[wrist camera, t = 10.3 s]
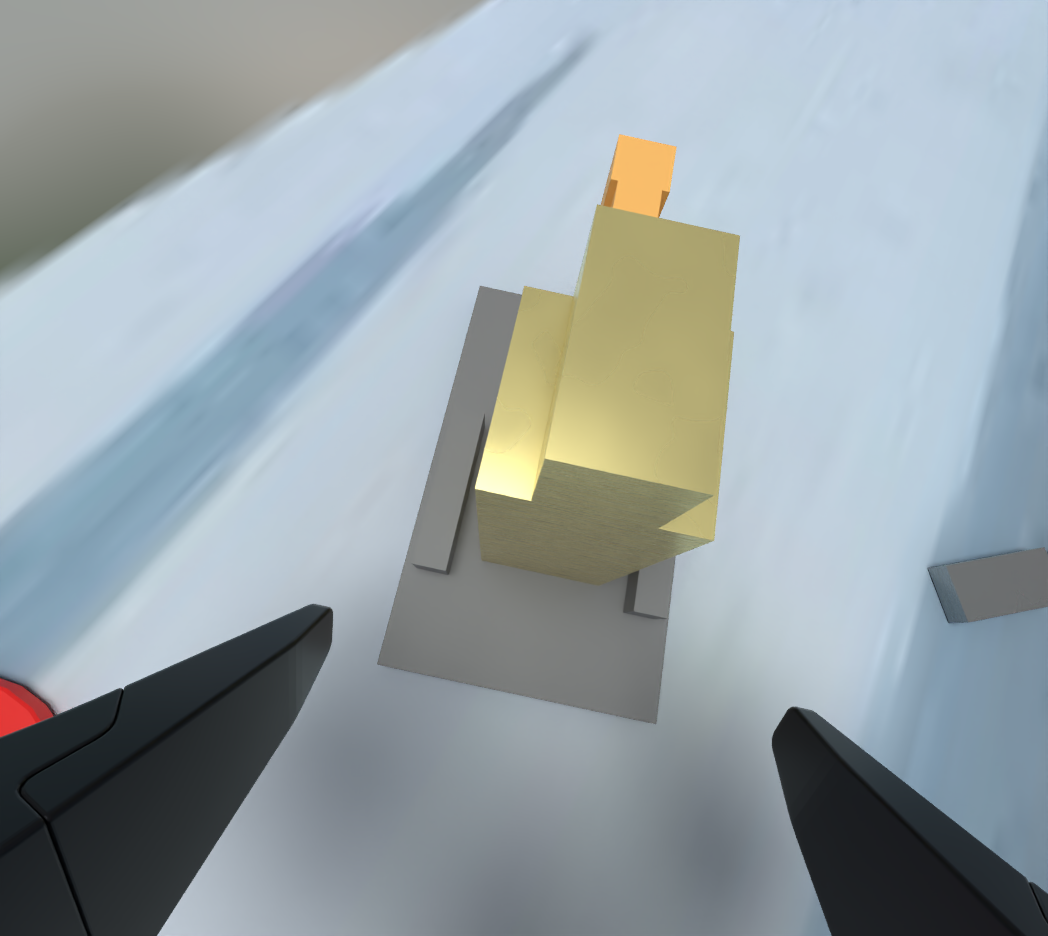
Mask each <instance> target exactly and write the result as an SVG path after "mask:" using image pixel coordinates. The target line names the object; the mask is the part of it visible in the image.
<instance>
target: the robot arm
mask: <svg viewBox="0 0 1048 936" xmlns="http://www.w3.org/2000/svg"><path fill="white" fill-rule="evenodd" d="M332 628H333V611H332V609H331V608H330V607H326V606H322V605H317V604H311V605H308V606H305V607H303V608H301V609H299V610H296V611H294V612H292V613H290V614H287V615H285V616H283V617H280V618H278V619H276V620H274V621H271V622H269V623H267V624H265V625H262V626H260V627H258V628H256V629H253V630H251V631H249V632H247V633H244V634H242V635H240V636H238V637H235V638H233V639H231V640H229V641H226V642H224V643H222V644H220V645H217V646H215V647H213V648H211V649H208V650H206V651H204V652H201V653H199V654H197V655H195V656H192V657H190V658H188V659H186V660H183V661H181V662H179V663H177V664H174V665H172V666H170V667H168V668H165V669H163V670H161V671H159V672H156V673H154V674H152V675H150V676H147V677H145V678H143V679H141V680H138V681H136V682H134V683H132V684H129V685H127V686H125V687H124V690H123V689H121V688H119V689H116V690H114V691H112V692H109V693H107V694H105V695H103V696H100V697H98V698H96V699H94V700H91V701H89V702H86V703H84V704H82V705H79V706H77V707H75V708H72V709H70V710H67V711H65V712H63V713H60V714H58V715H56V716H53V717H51V718H48V719H46V720H43V721H40V722H38V723H35V724H33V725H30V726H28V727H25V728H22V729H20V730H17V731H15V732H12V733H10V734H7V735H4V736H2V737H0V936H157V935H158V933H159V932H160V930H161V929H162V927H163V925H164V924H165V922H166V921H167V919H168V918H169V916H170V915H171V913H172V911H173V910H174V908H175V907H176V905H177V904H178V902H179V901H180V899H181V897H182V896H183V894H184V893H185V891H186V890H187V888H188V886H189V885H190V883H191V882H192V880H193V879H194V877H195V876H196V874H197V872H198V871H199V869H200V868H201V866H202V865H203V863H204V862H205V860H206V858H207V857H208V855H209V854H210V852H211V851H212V849H213V848H214V846H215V844H216V843H217V841H218V840H219V838H220V837H221V835H222V833H223V832H224V830H225V829H226V827H227V826H228V824H229V823H230V821H231V819H232V818H233V816H234V815H235V813H236V812H237V810H238V809H239V807H240V805H241V804H242V802H243V801H244V799H245V798H246V796H247V795H248V793H249V791H250V790H251V788H252V787H253V785H254V784H255V782H256V780H257V779H258V777H259V776H260V774H261V773H262V771H263V770H264V768H265V766H266V765H267V763H268V762H269V760H270V759H271V757H272V756H273V754H274V752H275V751H276V749H277V748H278V746H279V745H280V743H281V741H282V740H283V738H284V737H285V735H286V734H287V732H288V731H289V729H290V727H291V726H292V724H293V722H294V721H295V719H296V717H297V715H298V713H299V711H300V710H301V708H302V706H303V704H304V702H305V699H306V697H307V695H308V693H309V691H310V689H311V687H312V685H313V683H314V681H315V679H316V677H317V675H318V673H319V671H320V669H321V667H322V665H323V663H324V661H325V659H326V656H327V654H328V652H329V649H330V646H331V642H332ZM772 749H773V753H774V757H775V761H776V765H777V769H778V773H779V777H780V781H781V785H782V789H783V793H784V797H785V801H786V805H787V809H788V812H789V816H790V819H791V823H792V826H793V829H794V832H795V835H796V838H797V841H798V844H799V846H800V849H801V852H802V855H803V857H804V860H805V863H806V866H807V869H808V871H809V874H810V877H811V880H812V882H813V885H814V888H815V891H816V894H817V896H818V899H819V902H820V905H821V908H822V910H823V913H824V916H825V919H826V921H827V924H828V927H829V930H830V933H831V935H832V936H1048V894H1047V893H1046V892H1045V891H1044V890H1042V889H1041V888H1040V887H1038V886H1037V885H1036V884H1034V883H1033V882H1028V880H1027V879H1026V877H1024V876H1023V875H1022V874H1021V873H1019V872H1018V871H1017V870H1016V869H1014V868H1013V867H1012V866H1010V865H1009V864H1008V863H1007V862H1005V861H1004V860H1003V859H1001V858H1000V857H999V856H998V855H996V854H995V853H994V852H993V851H991V850H990V849H989V848H987V847H986V846H985V845H984V844H982V843H981V842H980V841H979V840H977V839H976V838H975V837H973V836H972V835H971V834H970V833H968V832H967V831H966V830H965V829H963V828H962V827H961V826H959V825H958V824H957V823H956V822H954V821H953V820H952V819H951V818H949V817H948V816H947V815H945V814H944V813H943V812H942V811H940V810H939V809H938V808H937V807H935V806H934V805H933V804H931V803H930V802H929V801H928V800H926V799H925V798H924V797H923V796H921V795H920V794H919V793H917V792H916V791H915V790H914V789H912V788H911V787H910V786H909V785H907V784H906V783H905V782H903V781H902V780H901V779H900V778H898V777H897V776H896V775H894V774H893V773H892V772H891V771H889V770H888V769H887V768H886V767H884V766H883V765H882V764H880V763H879V762H878V761H877V760H875V759H874V758H873V757H872V756H870V755H869V754H868V753H866V752H865V751H864V750H863V749H861V748H860V747H859V746H858V745H856V744H855V743H854V742H852V741H851V740H850V739H849V738H847V737H846V736H845V735H844V734H842V733H841V732H840V731H838V730H837V729H836V728H835V727H833V726H832V725H831V724H830V723H828V722H827V721H826V720H824V719H823V718H822V717H821V716H819V715H818V714H817V713H815V712H814V711H812V710H809V709H804V708H799V707H791V708H789V709H788V710H787V712H786V713H785V715H784V717H783V718H782V720H781V721H780V723H779V725H778V726H777V728H776V730H775V731H774V733H773V737H772Z"/></svg>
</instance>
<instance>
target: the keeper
mask: <svg viewBox="0 0 1048 936" xmlns="http://www.w3.org/2000/svg"><path fill="white" fill-rule="evenodd" d="M675 153H676V147H675V146H671V145H666V144H661V143H657V142H652V141H648V140H643V139H639V138H634V137H629V136H625V135H620V134H619V138H618V142H617V145H616V149H615V153H614V157H613V160H612V164H611V168H610V172H609V175H608V179H607V183H606V187H605V190H604V194H603V198H602V202H601V205H602V206H607V207H611V208H616V209H620V210H625V211H630V212H634V213H639V214H643V215H648V216H652V217H657V218H659V216H660V214H661V211H662V209H663V207H664V204H665V202H666V199H667V197H668V195H669V192H670V186H671V179H672V173H673V166H674V159H675ZM521 298H522V295H520V294H515V293H511V292H506V291H502V290H497V289H492V288H488V287H483V286H480V288H479V291H478V295H477V299H476V302H475V306H474V310H473V313H472V317H471V321H470V324H469V328H468V332H467V335H466V339H465V343H464V346H463V350H462V354H461V357H460V361H459V365H458V368H457V372H456V376H455V380H454V383H453V387H452V391H451V394H450V398H449V402H448V405H447V409H446V413H445V416H444V420H443V424H442V427H441V431H440V435H439V438H438V442H437V446H436V449H435V453H434V457H433V460H432V464H431V468H430V471H429V475H428V479H427V482H426V486H425V490H424V493H423V497H422V501H421V504H420V508H419V512H418V515H417V519H416V523H415V526H414V530H413V534H412V537H411V541H410V545H409V549H408V552H407V556H406V560H405V563H404V567H403V571H402V574H401V578H400V582H399V585H398V589H397V593H396V596H395V600H394V604H393V607H392V611H391V615H390V618H389V622H388V626H387V629H386V633H385V637H384V640H383V644H382V648H381V651H380V655H379V659H378V662H377V664H378V665H382V666H387V667H392V668H396V669H401V670H406V671H410V672H415V673H420V674H424V675H429V676H434V677H438V678H443V679H448V680H452V681H457V682H462V683H466V684H471V685H476V686H480V687H485V688H490V689H494V690H499V691H504V692H508V693H513V694H518V695H522V696H527V697H532V698H536V699H541V700H546V701H550V702H555V703H560V704H564V705H569V706H574V707H578V708H583V709H588V710H592V711H597V712H602V713H606V714H611V715H616V716H620V717H625V718H630V719H634V720H639V721H644V722H648V723H653V724H656V721H657V712H658V703H659V695H660V686H661V677H662V669H663V660H664V651H665V643H666V634H667V625H668V617H669V608H670V599H671V590H672V582H673V573H674V564H675V556H674V557H671V558H669V559H666V560H663V561H661V562H658V563H656V564H653V565H651V566H648V567H646V568H643V569H640V570H638V571H635V572H633V573H630V574H628V575H625V576H623V577H620V578H618V579H615V580H612V581H610V582H607V583H605V584H602V585H600V586H597V585H592V584H588V583H583V582H579V581H574V580H569V579H565V578H560V577H556V576H551V575H546V574H542V573H537V572H533V571H528V570H523V569H519V568H514V567H510V566H505V565H500V564H496V563H491V562H487V561H482V560H481V551H480V540H479V529H478V518H477V507H476V495H475V486H476V482H477V478H478V474H479V470H480V466H481V461H482V457H483V453H484V449H485V445H486V441H487V437H488V433H489V429H490V425H491V421H492V416H493V412H494V408H495V404H496V400H497V396H498V392H499V388H500V384H501V380H502V376H503V371H504V367H505V363H506V359H507V355H508V351H509V347H510V343H511V339H512V335H513V331H514V326H515V322H516V318H517V314H518V310H519V306H520V302H521Z"/></svg>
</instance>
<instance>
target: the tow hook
mask: <svg viewBox="0 0 1048 936" xmlns="http://www.w3.org/2000/svg"><path fill="white" fill-rule="evenodd" d="M51 717H53V714H52V713H51V711H50V710H49V708H48V707H47V705H46V704H45V703H43V702H42V701H41V700H39V699H38V698H37V697H36V696H34V695H33V694H32V693H30V692H29V691H28V690H26V689H25V688H24V687H23V686H21V685H18V684H15V683H12V682H9V681H7V680H4V679H1V678H0V737H2V736H4V735H7V734H10V733H12V732H15V731H17V730H20V729H22V728H25V727H28V726H30V725H33V724H35V723H38V722H40V721H43V720H46V719H48V718H51Z"/></svg>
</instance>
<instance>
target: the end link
mask: <svg viewBox="0 0 1048 936" xmlns="http://www.w3.org/2000/svg"><path fill="white" fill-rule="evenodd" d="M739 240H740V236H739V235H735V234H730V233H725V232H721V231H716V230H712V229H707V228H703V227H698V226H693V225H689V224H684V223H680V222H675V221H671V220H666V219H662V218H657V217H652V216H648V215H643V214H639V213H634V212H630V211H625V210H620V209H616V208H611V207H607V206H602V205H598V204H597V207H596V211H595V215H594V218H593V222H592V226H591V230H590V234H589V238H588V242H587V246H586V249H585V253H584V257H583V261H582V265H581V269H580V273H579V277H578V281H577V284H576V288H575V292H574V296H568V295H564V294H559V293H555V292H550V291H545V290H541V289H536V288H532V287H527V286H524V290H523V294H522V298H521V302H520V306H519V310H518V314H517V318H516V322H515V326H514V331H513V335H512V339H511V343H510V347H509V351H508V355H507V359H506V363H505V367H504V371H503V376H502V380H501V384H500V388H499V392H498V396H497V400H496V404H495V408H494V412H493V416H492V421H491V425H490V429H489V433H488V437H487V441H486V445H485V449H484V453H483V457H482V461H481V466H480V470H479V474H478V478H477V482H476V486H475V495H476V507H477V518H478V529H479V540H480V551H481V560H482V561H487V562H491V563H496V564H500V565H505V566H510V567H514V568H519V569H523V570H528V571H533V572H537V573H542V574H546V575H551V576H556V577H560V578H565V579H569V580H574V581H579V582H583V583H588V584H592V585H597V586H600V585H602V584H605V583H607V582H610V581H612V580H615V579H618V578H620V577H623V576H625V575H628V574H630V573H633V572H635V571H638V570H640V569H643V568H646V567H648V566H651V565H653V564H656V563H658V562H661V561H663V560H666V559H669V558H671V557H674V556H676V555H679V554H681V553H684V552H686V551H689V550H692V549H694V548H697V547H699V546H702V545H704V544H707V543H709V542H712V541H714V536H715V525H716V515H717V505H718V494H719V484H720V473H721V463H722V452H723V442H724V431H725V421H726V411H727V400H728V390H729V379H730V369H731V358H732V348H733V338H734V332H733V331H731V321H732V311H733V301H734V290H735V280H736V270H737V260H738V250H739Z"/></svg>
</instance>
